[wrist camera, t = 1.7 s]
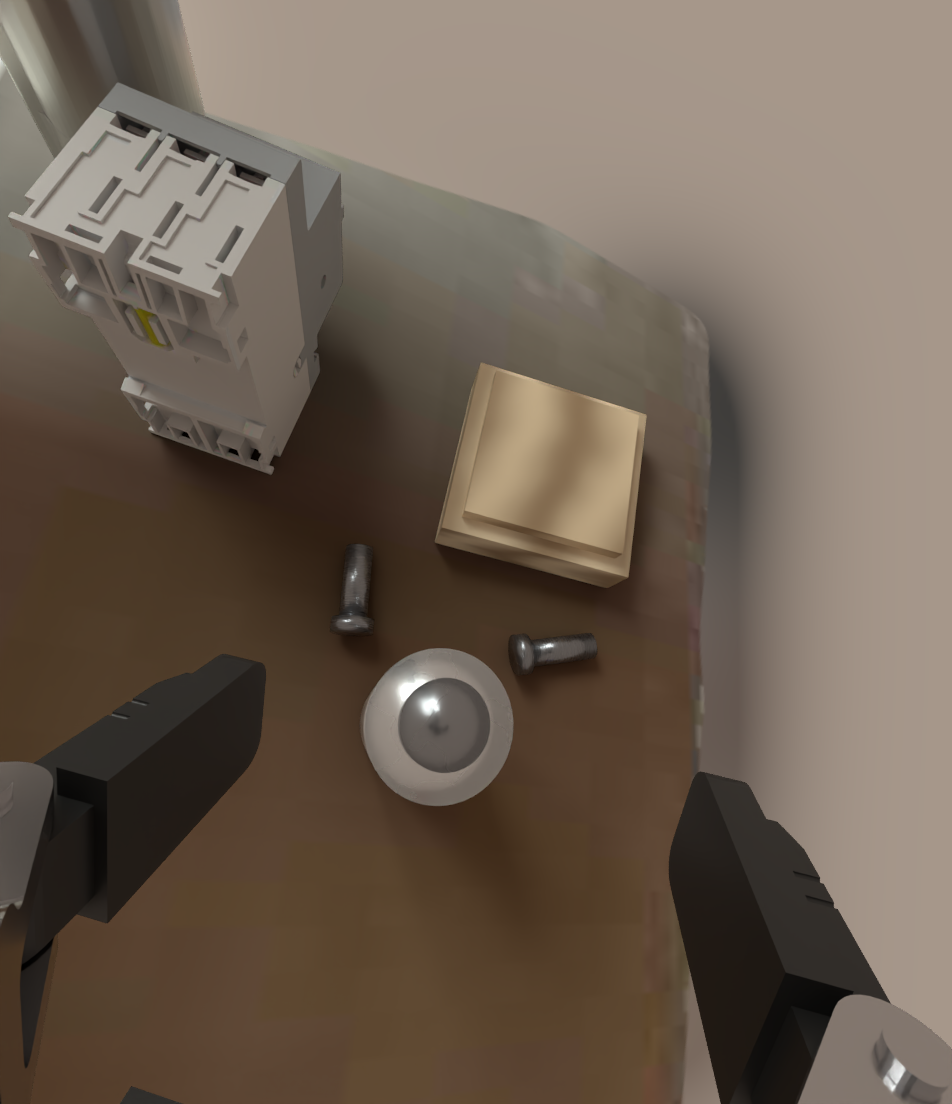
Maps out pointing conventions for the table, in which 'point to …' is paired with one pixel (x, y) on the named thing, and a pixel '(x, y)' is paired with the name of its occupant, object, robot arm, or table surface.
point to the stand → (545, 479)
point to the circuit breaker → (194, 267)
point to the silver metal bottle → (437, 727)
